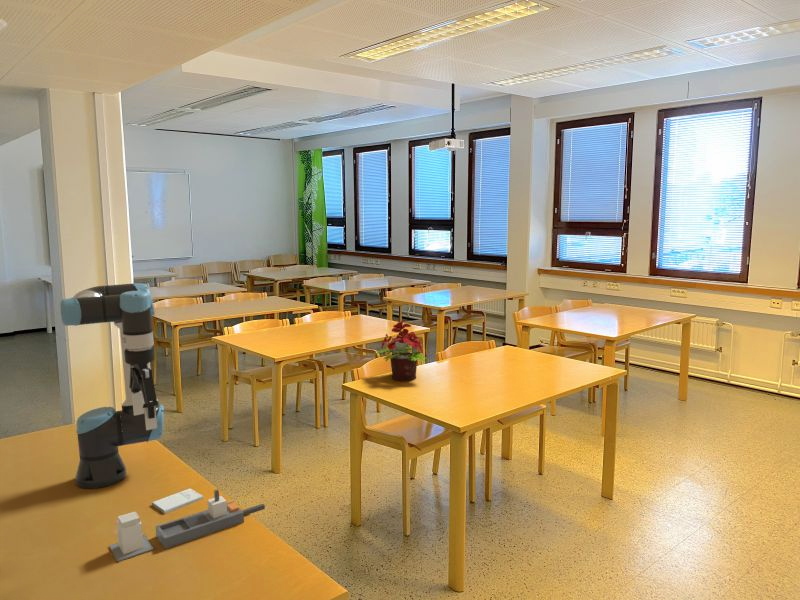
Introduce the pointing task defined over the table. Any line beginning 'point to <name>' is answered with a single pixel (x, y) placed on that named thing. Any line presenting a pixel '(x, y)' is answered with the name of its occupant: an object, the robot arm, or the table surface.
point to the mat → (120, 556)
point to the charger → (130, 532)
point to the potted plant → (403, 362)
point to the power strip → (203, 522)
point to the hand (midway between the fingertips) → (145, 421)
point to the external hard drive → (177, 500)
